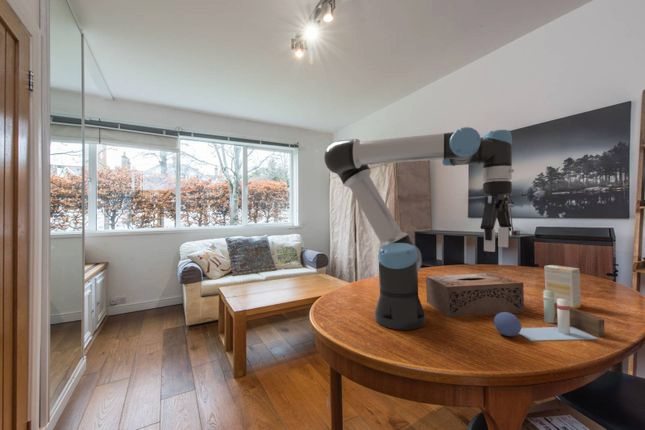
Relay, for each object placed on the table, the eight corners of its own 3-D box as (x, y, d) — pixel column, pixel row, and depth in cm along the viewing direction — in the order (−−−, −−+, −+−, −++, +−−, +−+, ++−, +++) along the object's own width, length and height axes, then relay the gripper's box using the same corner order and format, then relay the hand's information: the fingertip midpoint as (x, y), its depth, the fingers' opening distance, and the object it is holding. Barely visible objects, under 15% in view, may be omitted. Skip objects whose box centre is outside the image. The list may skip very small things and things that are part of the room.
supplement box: (582, 307, 89) (580, 268, 89) (573, 309, 87) (572, 269, 87) (553, 300, 97) (552, 264, 97) (544, 302, 95) (543, 265, 95)
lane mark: (530, 341, 68) (530, 340, 68) (511, 329, 75) (511, 328, 75) (598, 339, 68) (598, 338, 67) (572, 327, 74) (572, 326, 74)
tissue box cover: (492, 299, 101) (491, 272, 101) (524, 313, 86) (523, 282, 86) (426, 303, 99) (426, 276, 99) (448, 318, 84) (447, 286, 84)
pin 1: (548, 323, 77) (547, 292, 77) (541, 320, 80) (540, 290, 80) (557, 323, 77) (556, 292, 77) (550, 320, 80) (549, 290, 80)
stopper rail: (598, 337, 68) (598, 319, 68) (555, 317, 81) (554, 302, 81) (604, 337, 68) (604, 319, 68) (559, 317, 81) (559, 302, 81)
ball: (503, 340, 68) (503, 317, 68) (489, 330, 74) (488, 309, 74) (527, 340, 68) (526, 316, 68) (510, 329, 74) (510, 308, 74)
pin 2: (563, 335, 70) (562, 301, 70) (555, 331, 72) (554, 298, 72) (572, 335, 70) (572, 301, 70) (564, 331, 72) (563, 298, 72)
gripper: (498, 177, 72) (497, 255, 73) (521, 183, 89) (521, 246, 89) (468, 179, 78) (468, 251, 78) (495, 184, 94) (495, 244, 95)
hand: (496, 249), depth 84 cm, fingers open, 13 cm apart
